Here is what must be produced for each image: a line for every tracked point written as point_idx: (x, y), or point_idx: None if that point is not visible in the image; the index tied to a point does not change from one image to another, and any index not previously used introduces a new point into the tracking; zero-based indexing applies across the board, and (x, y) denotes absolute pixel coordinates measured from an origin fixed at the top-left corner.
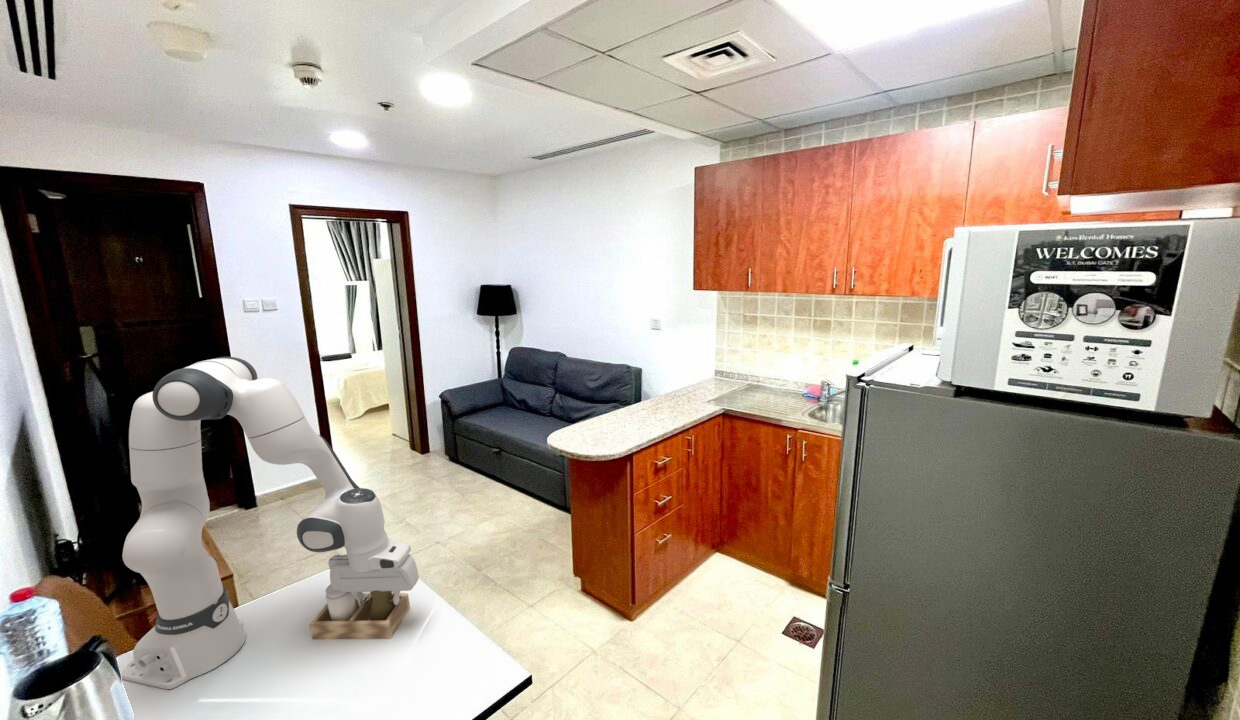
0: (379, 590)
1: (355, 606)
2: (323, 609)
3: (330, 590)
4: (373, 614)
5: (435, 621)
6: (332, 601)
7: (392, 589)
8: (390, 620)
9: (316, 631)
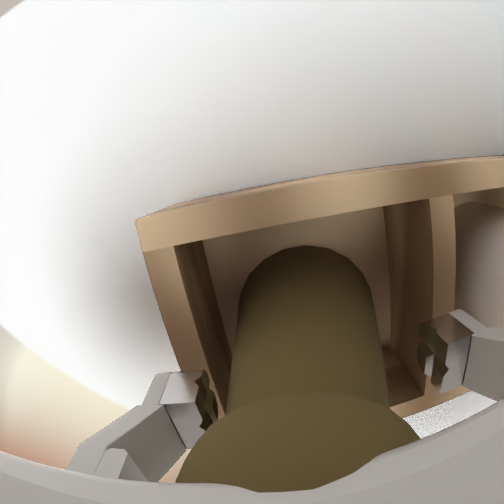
0: (237, 496)
1: (474, 316)
2: None
3: None
4: (328, 287)
5: (77, 340)
6: None
7: (49, 485)
8: (145, 255)
9: None
